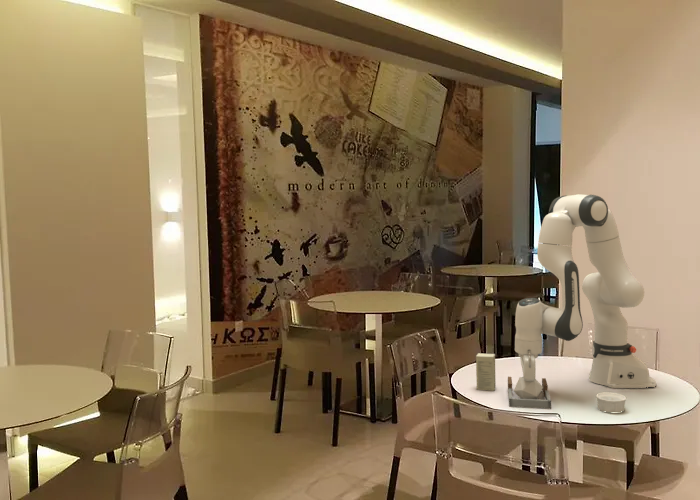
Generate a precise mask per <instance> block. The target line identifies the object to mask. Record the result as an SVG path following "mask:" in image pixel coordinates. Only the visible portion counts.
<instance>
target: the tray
mask: <svg viewBox="0 0 700 500" xmlns="http://www.w3.org/2000/svg"><path fill="white" fill-rule="evenodd" d="M507 392H508V393H507V394H508V395H507V396H508V398H507V399H508V406H509V407H511V408H512V407H513V408H514V407H516V408H531V409H547V410H549V409H550V410H551V409H552V399H551V396H550V393H549V390H545V397H544V399H539V398H538V399H520V397H518V398H516V397H515V398H513V389H512V390H511V389H510V388H508V387H507Z"/></svg>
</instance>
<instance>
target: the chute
mask: <svg viewBox="0 0 700 500" xmlns="http://www.w3.org/2000/svg"><path fill="white" fill-rule="evenodd" d="M541 385H542V386H543V388H542V391H541V393H542V395H543V397H544V398H545V390H548V389H549V388H548V387H549V385H548V382H547V379H546V378H545V377H544V378H543V377H541ZM508 388H510V389H511V390H512V391H513V379H512V376H507V389H508ZM548 391H549V390H548Z"/></svg>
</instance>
